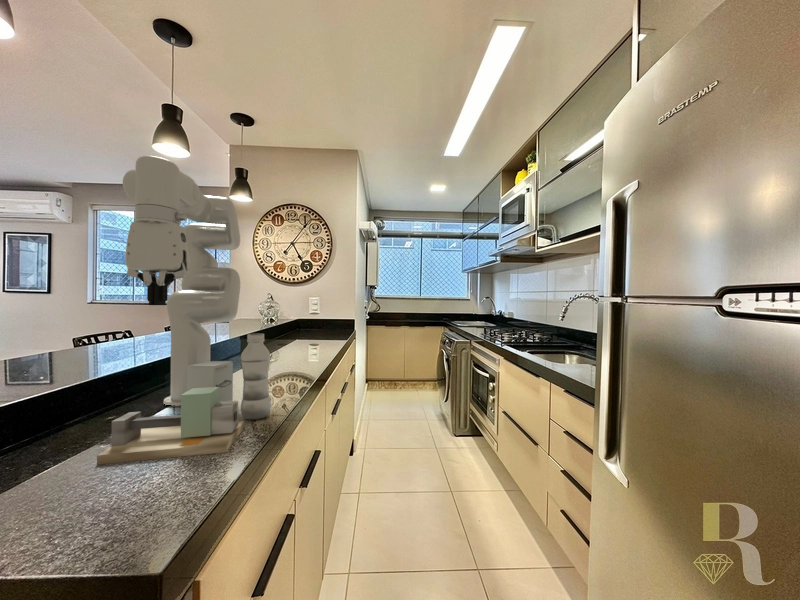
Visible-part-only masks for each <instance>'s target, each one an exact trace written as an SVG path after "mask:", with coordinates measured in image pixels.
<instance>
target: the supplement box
mask: <svg viewBox="0 0 800 600" xmlns="http://www.w3.org/2000/svg"><path fill="white" fill-rule="evenodd" d="M233 365H234V361H233V360H232V361H231V360H221V361H220V360H212V361H211V360H210V361H207V362H203V363H199V364H194V365H190V366H187V391H189V390H191V389H192V388H208V387H220V402H229V401H234V400H233V396H234V395H233V392H234V391H233V388H234V386H233V385H234V382H233V381H234V378H233V377H234V376H233V375H234V373H233V371H234V369H233V368H234V367H233Z"/></svg>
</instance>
